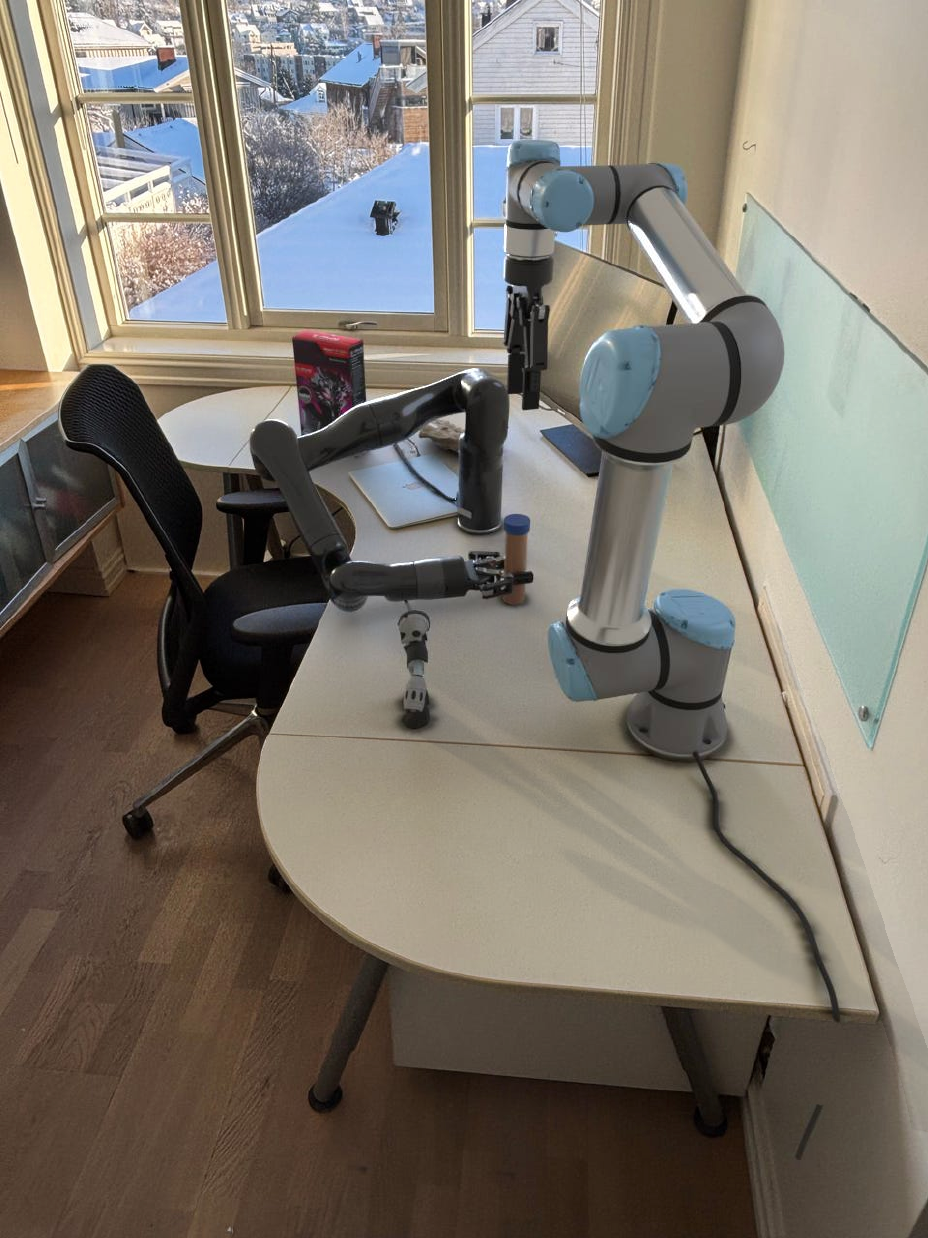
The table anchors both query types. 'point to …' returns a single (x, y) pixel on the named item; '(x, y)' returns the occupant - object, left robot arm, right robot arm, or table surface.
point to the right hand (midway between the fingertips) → (522, 400)
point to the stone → (442, 434)
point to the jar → (515, 564)
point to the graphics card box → (327, 377)
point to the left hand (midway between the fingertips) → (528, 569)
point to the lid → (517, 524)
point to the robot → (415, 666)
